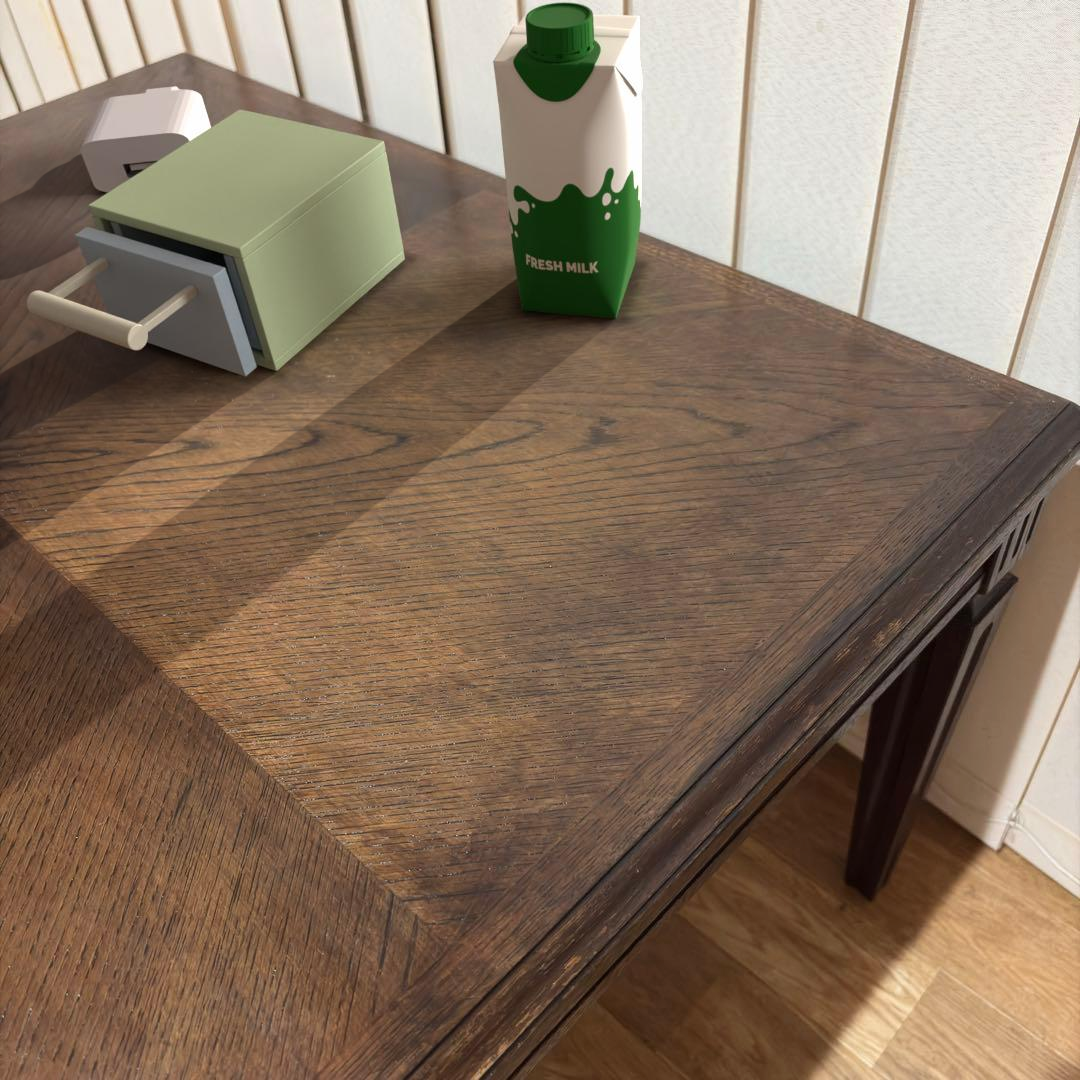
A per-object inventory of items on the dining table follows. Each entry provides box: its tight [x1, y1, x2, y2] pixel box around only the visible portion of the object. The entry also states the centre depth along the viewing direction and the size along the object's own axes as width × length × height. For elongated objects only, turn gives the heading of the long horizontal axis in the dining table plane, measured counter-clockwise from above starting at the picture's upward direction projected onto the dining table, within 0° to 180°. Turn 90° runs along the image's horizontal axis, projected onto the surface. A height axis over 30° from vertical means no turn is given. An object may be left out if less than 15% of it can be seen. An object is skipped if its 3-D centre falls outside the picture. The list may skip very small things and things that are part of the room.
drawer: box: [26, 221, 262, 377], centre depth 74 cm, size 21×12×8 cm, turn 150°
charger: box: [80, 85, 212, 193], centre depth 97 cm, size 5×9×15 cm
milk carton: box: [492, 2, 644, 320], centre depth 71 cm, size 9×9×20 cm
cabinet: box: [88, 109, 406, 372], centre depth 77 cm, size 16×14×10 cm
